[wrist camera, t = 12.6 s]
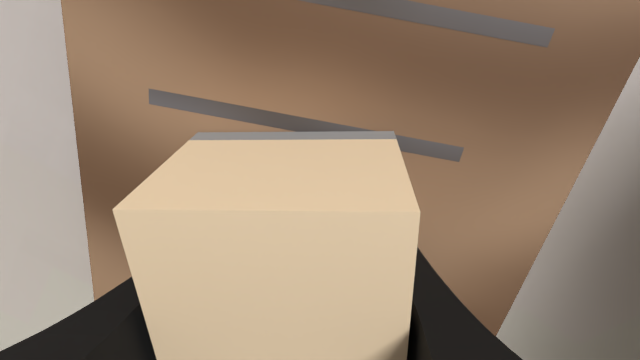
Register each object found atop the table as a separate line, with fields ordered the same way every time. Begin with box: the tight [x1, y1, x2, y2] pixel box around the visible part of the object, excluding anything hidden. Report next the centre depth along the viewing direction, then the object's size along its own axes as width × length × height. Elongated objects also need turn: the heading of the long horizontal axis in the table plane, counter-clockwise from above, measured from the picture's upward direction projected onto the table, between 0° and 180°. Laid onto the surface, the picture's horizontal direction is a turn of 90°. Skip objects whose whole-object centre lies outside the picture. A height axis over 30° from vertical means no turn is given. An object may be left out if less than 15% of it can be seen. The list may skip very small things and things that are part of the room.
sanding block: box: [112, 131, 420, 360], centre depth 10 cm, size 5×8×4 cm, turn 2°
